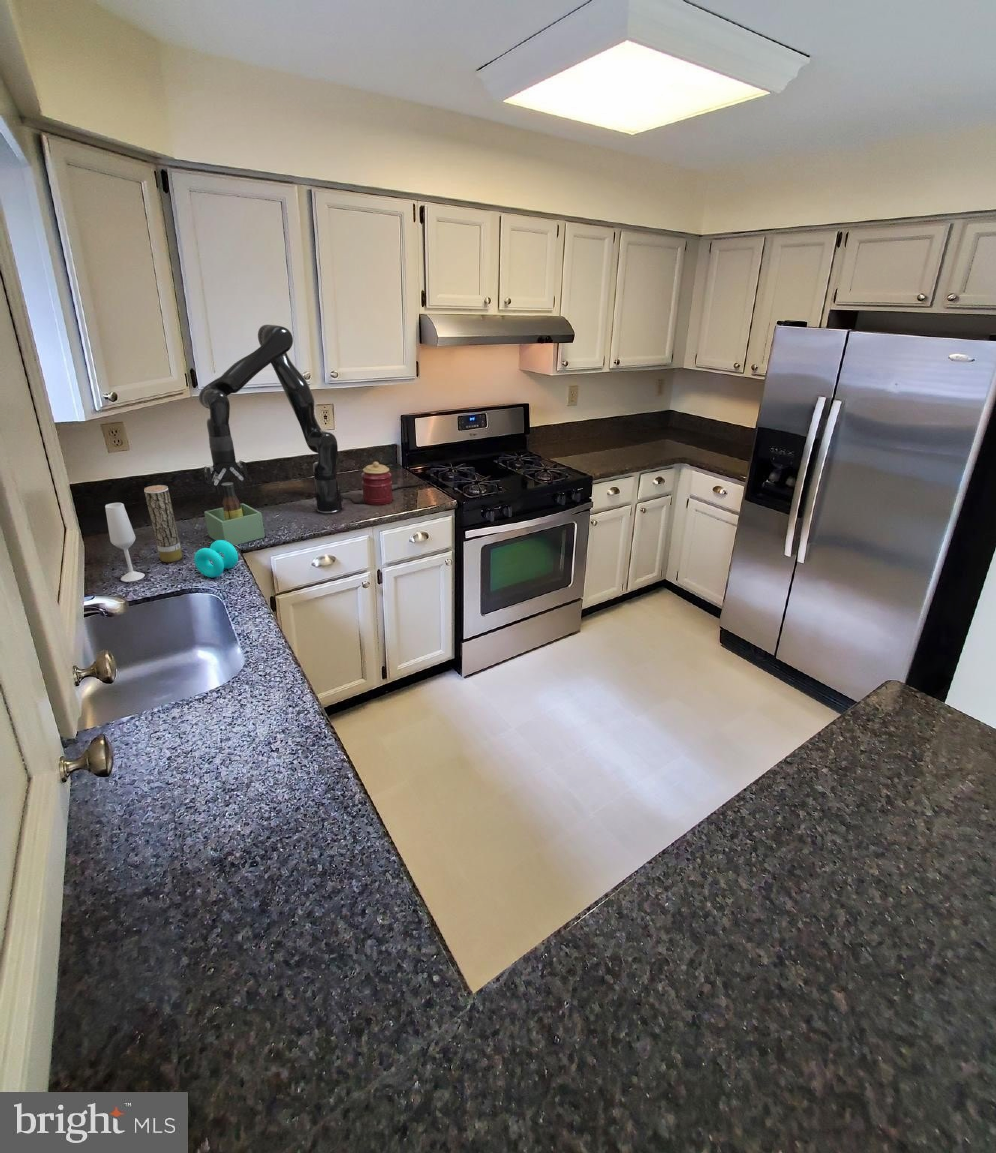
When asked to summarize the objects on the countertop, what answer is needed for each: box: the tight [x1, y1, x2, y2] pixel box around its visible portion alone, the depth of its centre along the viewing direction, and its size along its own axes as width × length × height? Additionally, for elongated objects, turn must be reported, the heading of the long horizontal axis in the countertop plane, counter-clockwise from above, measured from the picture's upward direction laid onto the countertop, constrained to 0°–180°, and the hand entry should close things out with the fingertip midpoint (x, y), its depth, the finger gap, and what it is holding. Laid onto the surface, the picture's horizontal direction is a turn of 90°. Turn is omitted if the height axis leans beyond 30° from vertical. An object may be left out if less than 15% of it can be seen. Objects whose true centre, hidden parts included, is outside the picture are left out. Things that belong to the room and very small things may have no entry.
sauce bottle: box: [220, 481, 243, 521], centre depth 218 cm, size 6×6×20 cm
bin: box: [204, 503, 266, 547], centre depth 220 cm, size 15×15×10 cm
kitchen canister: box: [360, 461, 394, 506], centre depth 261 cm, size 13×13×18 cm
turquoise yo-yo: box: [193, 540, 239, 578], centre depth 193 cm, size 10×10×10 cm
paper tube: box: [143, 484, 183, 563], centre depth 197 cm, size 7×7×25 cm
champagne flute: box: [104, 502, 146, 583], centre depth 184 cm, size 7×7×24 cm
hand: (229, 492), depth 215 cm, fingers open, 8 cm apart
